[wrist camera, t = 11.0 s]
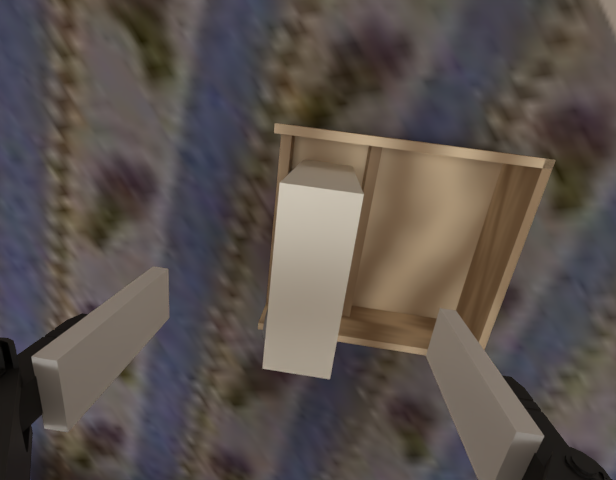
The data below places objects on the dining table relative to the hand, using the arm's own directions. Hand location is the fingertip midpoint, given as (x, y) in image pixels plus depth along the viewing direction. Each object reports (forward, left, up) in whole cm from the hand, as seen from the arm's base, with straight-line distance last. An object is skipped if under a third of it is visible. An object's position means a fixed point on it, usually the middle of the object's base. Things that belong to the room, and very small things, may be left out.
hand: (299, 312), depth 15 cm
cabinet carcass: (+5, 0, -15) cm, 16 cm away
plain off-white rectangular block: (0, 0, -14) cm, 14 cm away
